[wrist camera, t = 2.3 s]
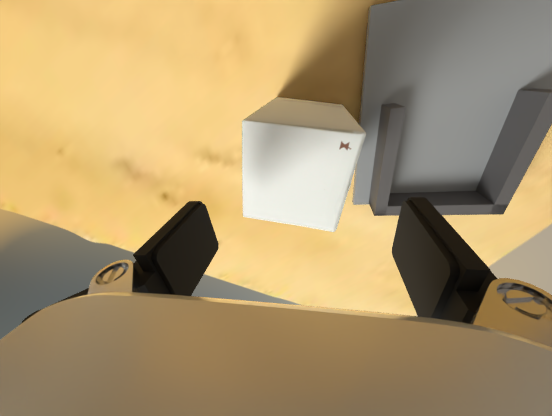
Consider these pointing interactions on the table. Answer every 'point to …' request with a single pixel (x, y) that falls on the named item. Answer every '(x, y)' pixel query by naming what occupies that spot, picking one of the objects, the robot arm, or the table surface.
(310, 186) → the supplement box
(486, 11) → the box holder
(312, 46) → the table surface
